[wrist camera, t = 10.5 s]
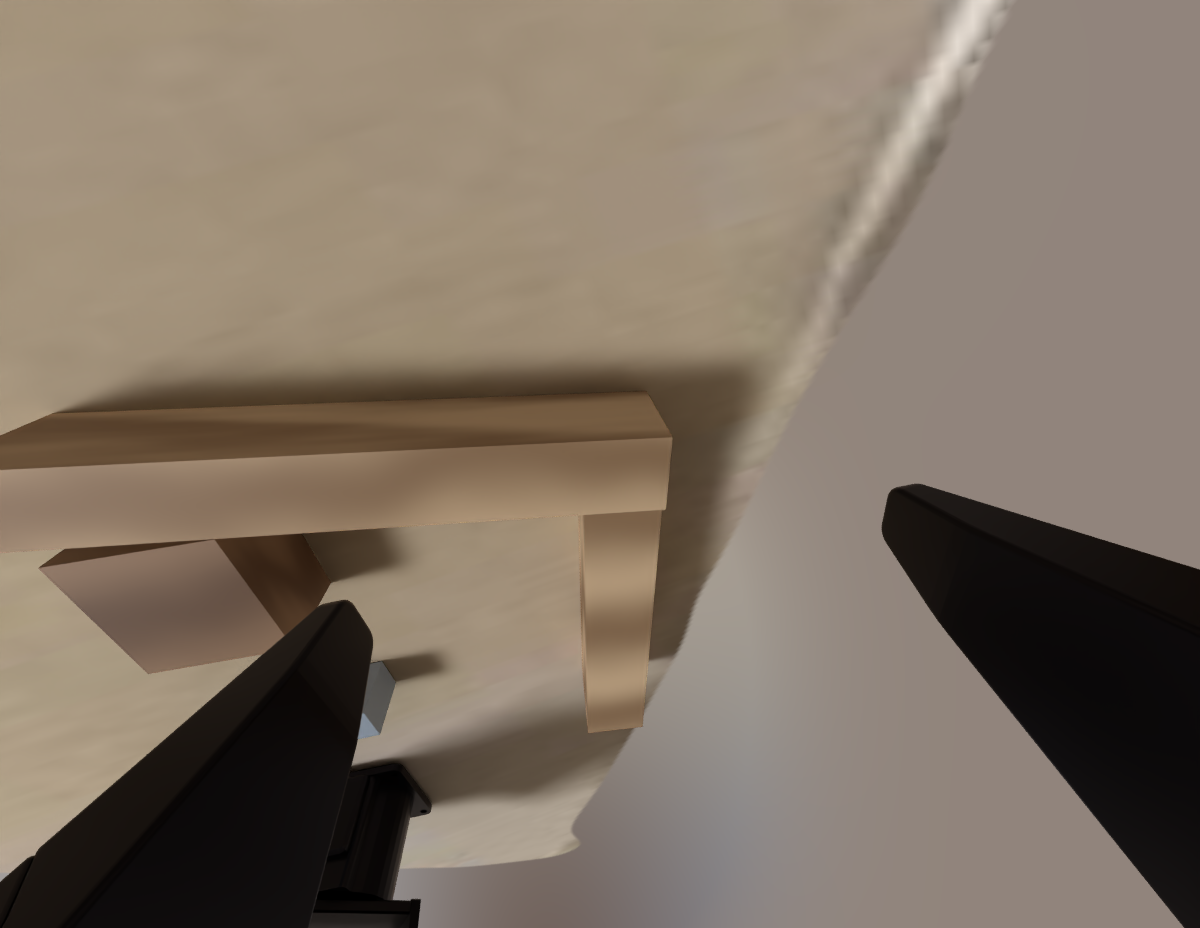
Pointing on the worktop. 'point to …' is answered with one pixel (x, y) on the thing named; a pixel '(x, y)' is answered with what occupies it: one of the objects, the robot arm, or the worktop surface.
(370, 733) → the stop batten
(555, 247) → the worktop surface
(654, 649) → the worktop surface
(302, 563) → the block
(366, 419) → the wooden l-shaped bracket
